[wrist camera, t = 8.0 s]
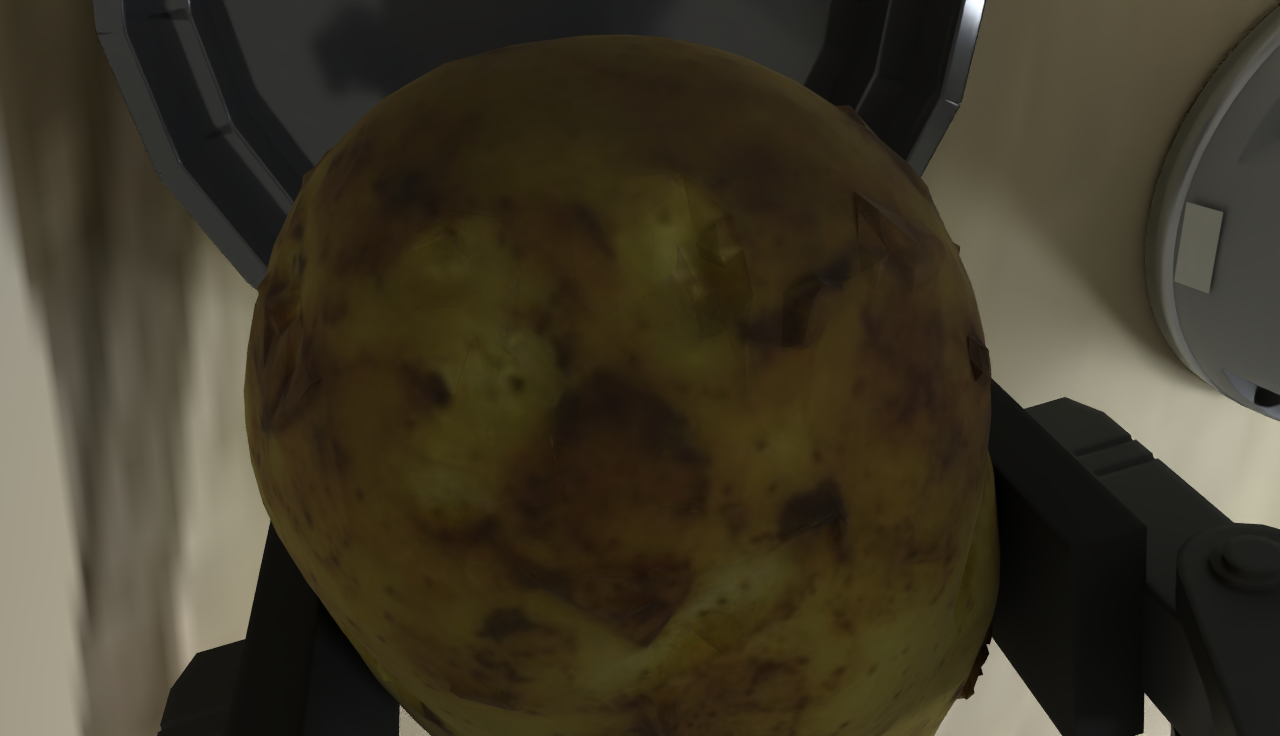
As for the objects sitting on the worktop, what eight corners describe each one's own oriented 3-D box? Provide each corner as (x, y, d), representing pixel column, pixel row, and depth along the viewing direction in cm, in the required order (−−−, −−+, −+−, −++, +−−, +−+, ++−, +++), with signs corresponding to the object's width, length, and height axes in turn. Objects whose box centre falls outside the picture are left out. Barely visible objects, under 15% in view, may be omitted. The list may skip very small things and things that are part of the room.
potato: (323, 765, 18) (264, 1366, 11) (278, -57, 12) (99, 88, 5) (795, 729, 20) (1007, 1229, 13) (941, -9, 14) (1463, 151, 7)
